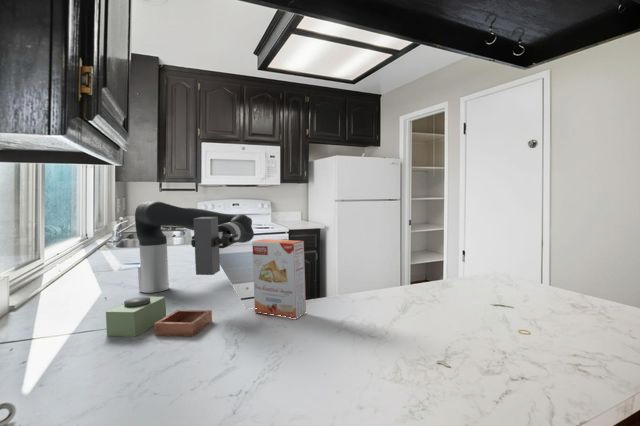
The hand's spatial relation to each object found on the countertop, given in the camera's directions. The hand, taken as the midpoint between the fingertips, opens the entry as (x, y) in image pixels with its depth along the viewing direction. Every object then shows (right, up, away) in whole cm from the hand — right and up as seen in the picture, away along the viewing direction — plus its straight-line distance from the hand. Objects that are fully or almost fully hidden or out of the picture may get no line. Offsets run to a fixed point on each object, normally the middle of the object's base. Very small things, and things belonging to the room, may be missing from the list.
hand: (202, 243), depth 94 cm
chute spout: (0, -9, +3) cm, 9 cm away
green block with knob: (-15, -21, -6) cm, 27 cm away
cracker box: (+22, -20, +1) cm, 30 cm away
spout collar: (-2, -21, -8) cm, 23 cm away
